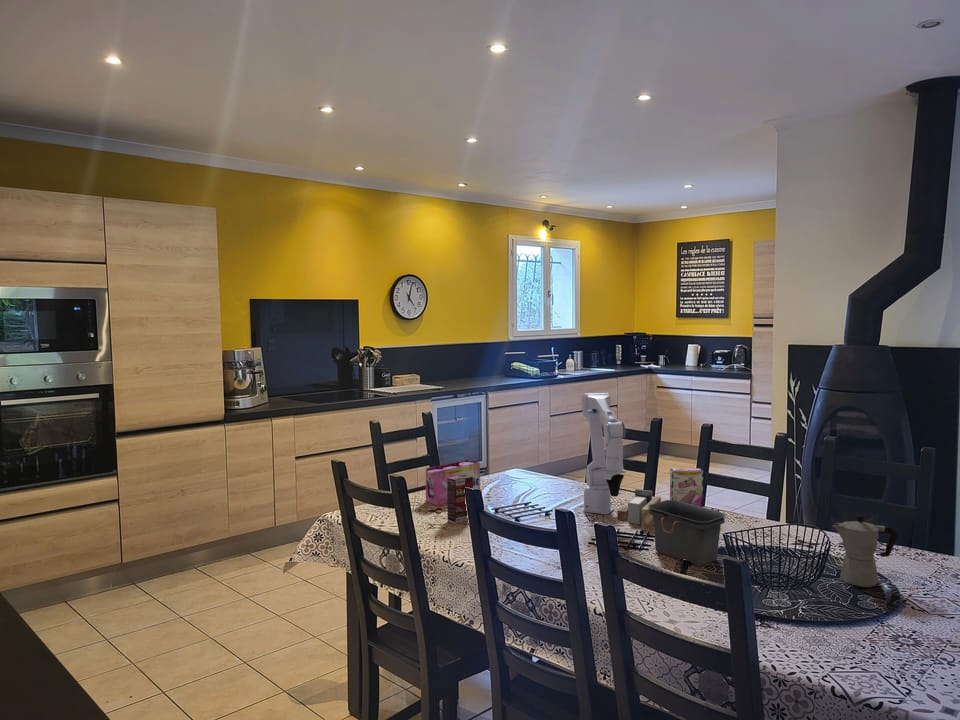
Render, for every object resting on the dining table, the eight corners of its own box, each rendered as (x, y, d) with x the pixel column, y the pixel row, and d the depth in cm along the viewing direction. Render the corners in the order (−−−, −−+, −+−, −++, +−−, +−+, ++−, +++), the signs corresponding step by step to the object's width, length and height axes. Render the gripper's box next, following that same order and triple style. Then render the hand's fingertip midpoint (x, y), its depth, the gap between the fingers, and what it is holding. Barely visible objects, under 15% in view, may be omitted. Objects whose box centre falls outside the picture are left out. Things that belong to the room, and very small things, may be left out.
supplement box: (455, 524, 242) (454, 480, 241) (447, 521, 245) (446, 477, 244) (474, 519, 247) (473, 476, 246) (465, 517, 251) (464, 474, 250)
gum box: (434, 506, 266) (434, 471, 265) (422, 502, 272) (421, 468, 271) (480, 495, 282) (480, 462, 281) (468, 491, 288) (467, 459, 287)
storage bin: (730, 561, 202) (731, 513, 201) (698, 573, 193) (698, 523, 192) (671, 542, 219) (671, 498, 218) (639, 553, 210) (639, 507, 209)
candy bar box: (671, 515, 249) (671, 470, 248) (669, 511, 254) (669, 467, 253) (703, 515, 248) (703, 470, 247) (700, 512, 253) (700, 467, 252)
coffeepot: (833, 584, 184) (834, 517, 183) (829, 571, 193) (831, 508, 192) (900, 591, 178) (901, 523, 177) (893, 578, 187) (894, 513, 186)
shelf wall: (641, 529, 233) (641, 508, 233) (655, 515, 249) (655, 496, 249) (647, 530, 232) (647, 509, 232) (660, 516, 248) (660, 496, 248)
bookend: (635, 514, 251) (635, 489, 251) (637, 511, 254) (637, 487, 253) (651, 516, 248) (651, 491, 248) (653, 513, 251) (653, 489, 251)
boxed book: (628, 522, 242) (628, 502, 241) (636, 515, 250) (636, 496, 250) (639, 524, 240) (639, 504, 239) (647, 516, 248) (647, 497, 248)
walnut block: (617, 518, 246) (617, 510, 245) (622, 514, 251) (622, 506, 251) (625, 520, 244) (625, 511, 244) (630, 515, 249) (630, 507, 249)
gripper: (619, 462, 228) (619, 502, 229) (631, 454, 241) (631, 492, 242) (598, 460, 231) (599, 499, 232) (612, 452, 244) (612, 490, 245)
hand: (614, 495), depth 237 cm, fingers closed
